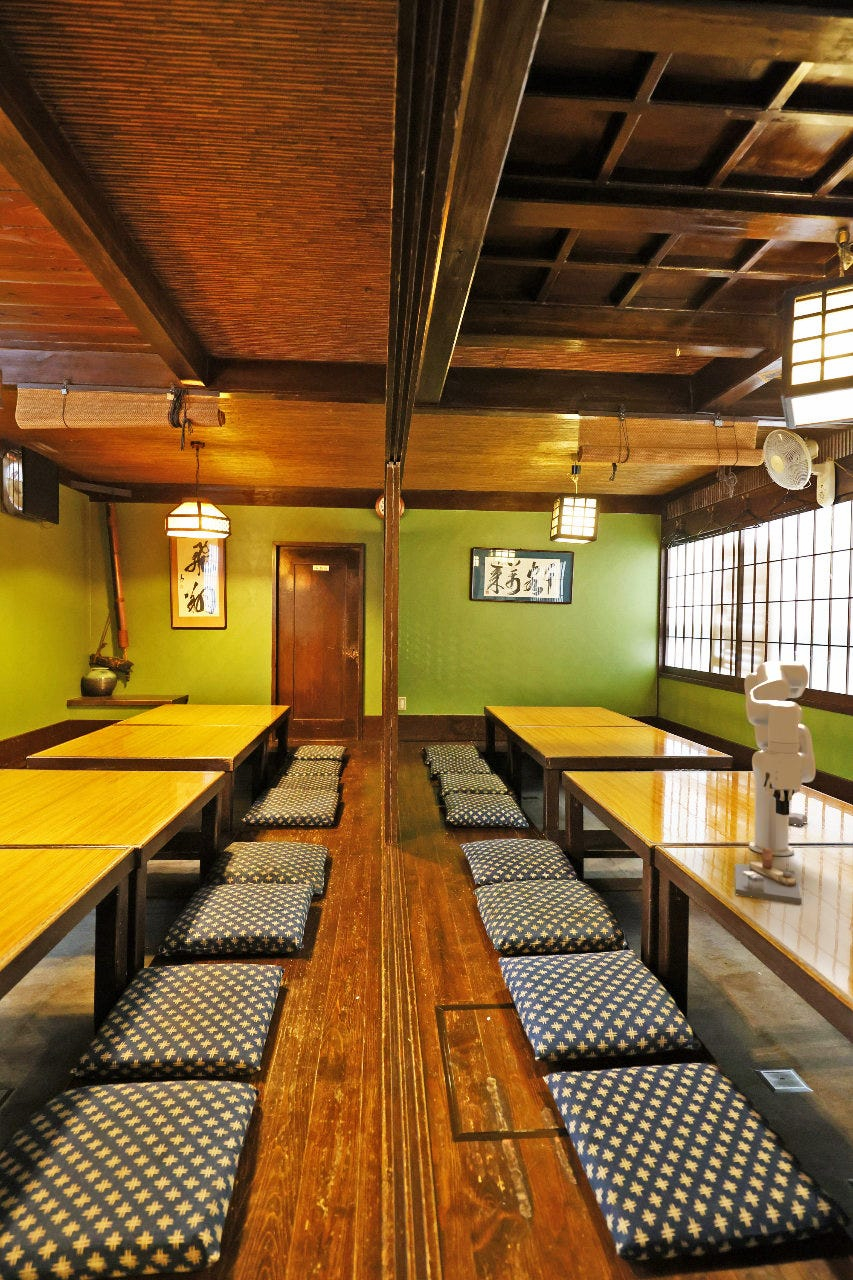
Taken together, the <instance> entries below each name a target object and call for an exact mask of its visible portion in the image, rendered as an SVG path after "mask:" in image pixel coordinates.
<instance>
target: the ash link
mask: <svg viewBox="0 0 853 1280" xmlns="http://www.w3.org/2000/svg"><path fill="white" fill-rule="evenodd" d="M761 854H762V855H761V857H762V859H761V861H749V864H748V865H749V868H750V869H753V870H755V871H757V872H759V873H761V874H764V875H766V876H768V877H770V878H772V879H775V880H777V881H779V882H780V883H782V884H785V885H795V884H796V881H797V877H796V876H795V877H796V878H795V877H794V876H792V875H791V873H790V872H781V871H779V870H777V869H778V868H775V869H774V867H773V855H772V849H770V848H762V853H761Z"/></svg>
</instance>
